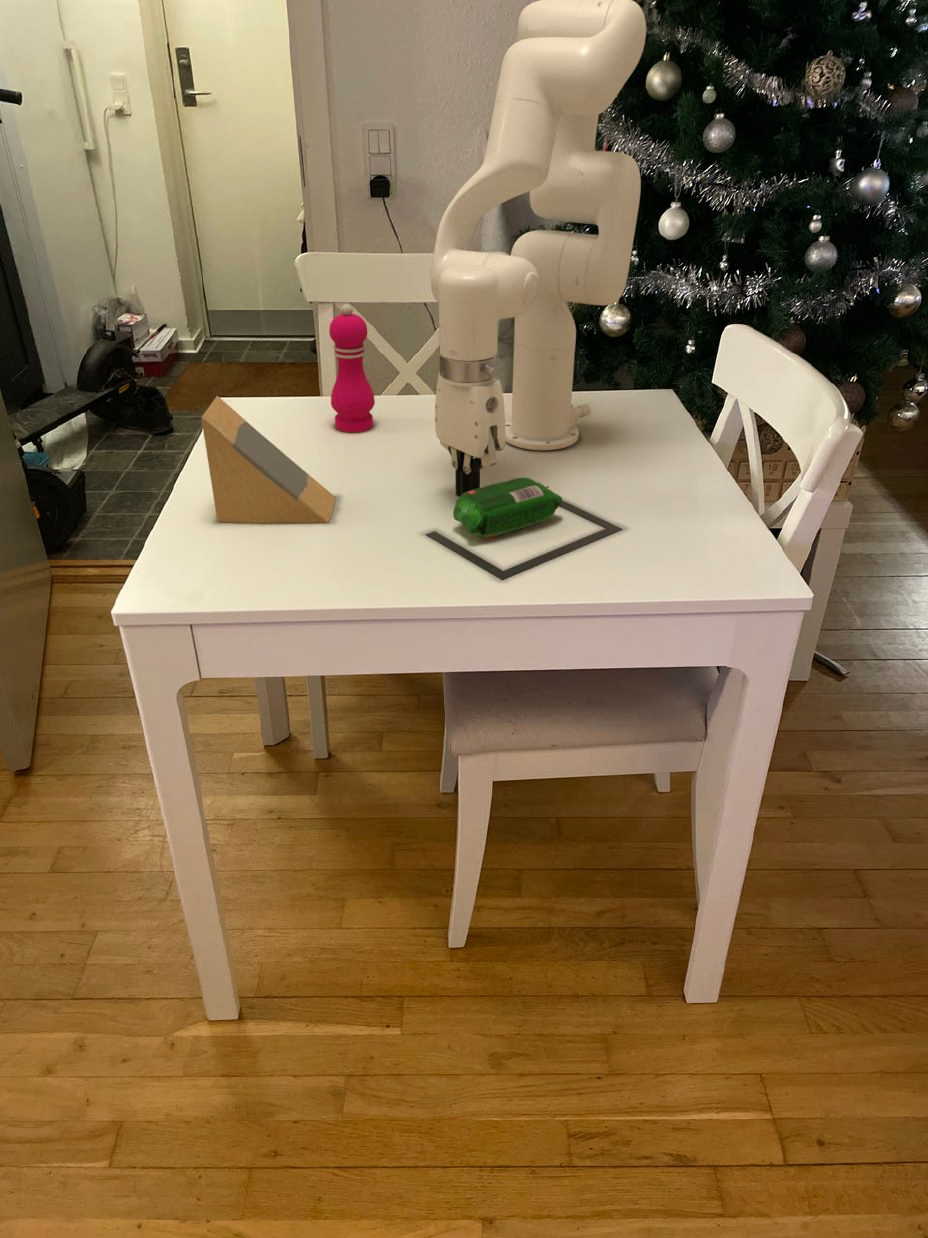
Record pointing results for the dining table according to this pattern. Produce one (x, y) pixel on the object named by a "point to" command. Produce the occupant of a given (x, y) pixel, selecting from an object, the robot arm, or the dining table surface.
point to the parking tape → (537, 560)
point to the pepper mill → (351, 373)
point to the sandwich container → (257, 475)
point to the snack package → (505, 507)
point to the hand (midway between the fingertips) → (467, 494)
